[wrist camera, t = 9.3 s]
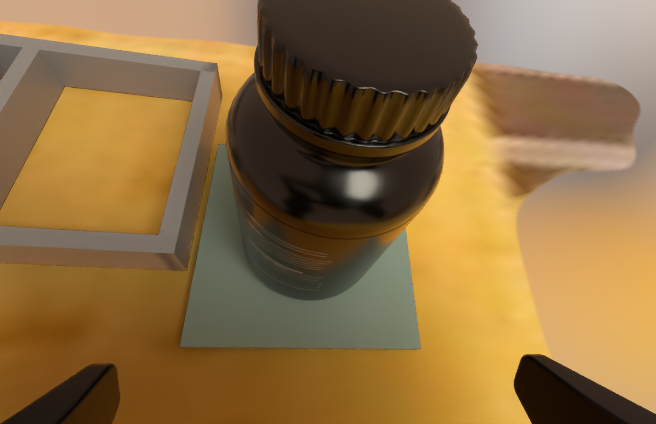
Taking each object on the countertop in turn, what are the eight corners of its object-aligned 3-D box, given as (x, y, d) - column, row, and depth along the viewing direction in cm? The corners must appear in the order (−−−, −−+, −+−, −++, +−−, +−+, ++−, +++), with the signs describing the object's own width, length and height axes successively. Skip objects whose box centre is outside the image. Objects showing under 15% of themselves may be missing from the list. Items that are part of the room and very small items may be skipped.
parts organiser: (186, 270, 16) (173, 253, 14) (-238, 252, 13) (-337, 227, 11) (222, 95, 21) (217, 63, 19) (-74, 59, 19) (-118, 17, 17)
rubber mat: (415, 349, 16) (420, 348, 16) (182, 347, 14) (179, 346, 14) (393, 167, 21) (397, 162, 21) (219, 150, 19) (218, 144, 19)
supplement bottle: (395, 262, 17) (592, 84, 7) (281, 331, 15) (317, 214, 4) (329, 167, 19) (401, -81, 9) (220, 212, 17) (145, -59, 6)
